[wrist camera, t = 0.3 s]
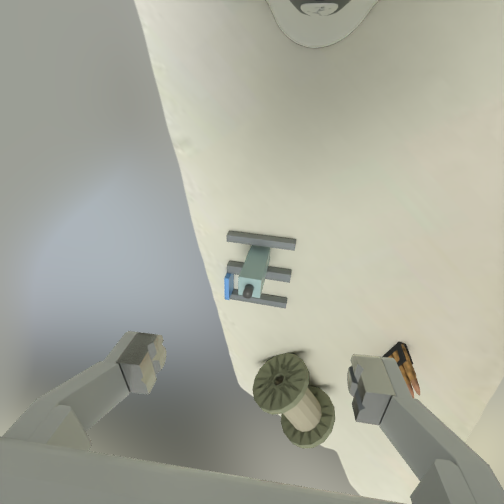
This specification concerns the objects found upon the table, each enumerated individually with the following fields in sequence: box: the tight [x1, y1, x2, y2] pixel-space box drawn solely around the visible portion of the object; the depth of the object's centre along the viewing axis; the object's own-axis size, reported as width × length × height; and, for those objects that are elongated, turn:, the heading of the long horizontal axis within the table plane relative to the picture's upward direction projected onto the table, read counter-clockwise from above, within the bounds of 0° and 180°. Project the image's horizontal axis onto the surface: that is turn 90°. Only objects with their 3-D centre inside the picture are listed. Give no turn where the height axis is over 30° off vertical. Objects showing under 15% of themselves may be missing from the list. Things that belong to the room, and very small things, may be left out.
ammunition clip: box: [383, 342, 420, 398], centre depth 56 cm, size 11×2×12 cm, turn 161°
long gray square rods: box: [224, 231, 296, 308], centre depth 54 cm, size 17×14×4 cm
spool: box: [253, 353, 335, 448], centre depth 65 cm, size 16×15×15 cm
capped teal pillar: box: [238, 245, 271, 299], centre depth 48 cm, size 4×4×14 cm
